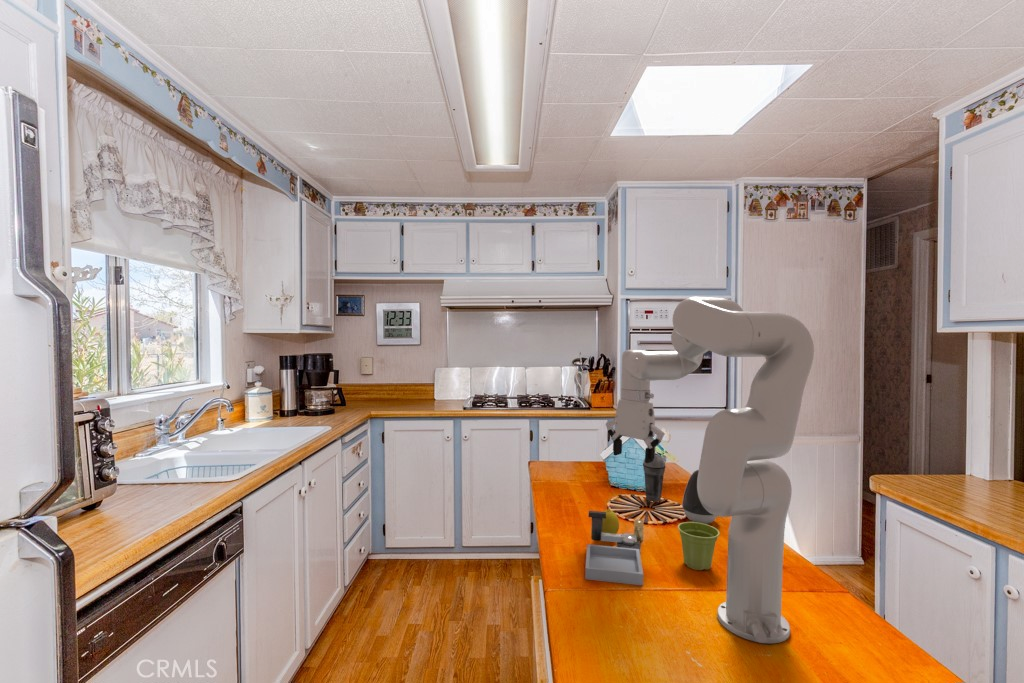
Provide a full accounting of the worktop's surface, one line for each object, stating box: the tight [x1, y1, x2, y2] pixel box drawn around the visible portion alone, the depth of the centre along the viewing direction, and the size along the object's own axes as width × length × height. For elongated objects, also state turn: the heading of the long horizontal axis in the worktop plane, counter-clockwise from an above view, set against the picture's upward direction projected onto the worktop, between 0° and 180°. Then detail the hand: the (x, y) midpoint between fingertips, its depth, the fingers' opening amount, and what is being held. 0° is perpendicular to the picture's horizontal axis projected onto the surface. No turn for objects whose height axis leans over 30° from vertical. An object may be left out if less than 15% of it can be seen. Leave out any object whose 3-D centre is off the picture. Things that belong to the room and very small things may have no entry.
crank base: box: [615, 518, 644, 554], centre depth 128 cm, size 12×7×5 cm, turn 170°
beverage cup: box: [642, 438, 666, 503], centre depth 163 cm, size 7×7×20 cm
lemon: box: [602, 508, 620, 534], centre depth 132 cm, size 6×6×8 cm
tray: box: [584, 543, 644, 586], centre depth 116 cm, size 13×13×2 cm
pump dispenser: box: [682, 469, 718, 525], centre depth 146 cm, size 10×10×15 cm
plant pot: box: [677, 521, 720, 571], centre depth 119 cm, size 9×9×9 cm
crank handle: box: [588, 510, 637, 545], centre depth 126 cm, size 12×4×7 cm, turn 80°
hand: (632, 458), depth 134 cm, fingers open, 9 cm apart
